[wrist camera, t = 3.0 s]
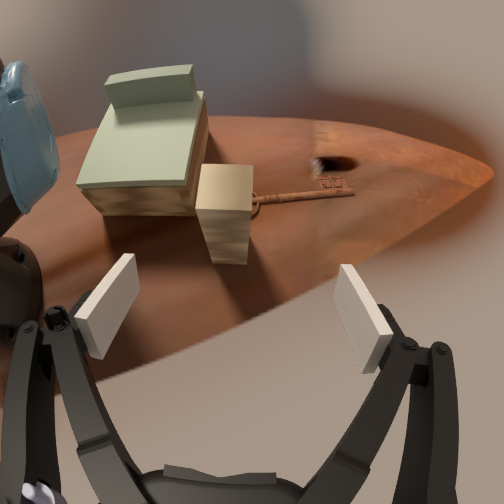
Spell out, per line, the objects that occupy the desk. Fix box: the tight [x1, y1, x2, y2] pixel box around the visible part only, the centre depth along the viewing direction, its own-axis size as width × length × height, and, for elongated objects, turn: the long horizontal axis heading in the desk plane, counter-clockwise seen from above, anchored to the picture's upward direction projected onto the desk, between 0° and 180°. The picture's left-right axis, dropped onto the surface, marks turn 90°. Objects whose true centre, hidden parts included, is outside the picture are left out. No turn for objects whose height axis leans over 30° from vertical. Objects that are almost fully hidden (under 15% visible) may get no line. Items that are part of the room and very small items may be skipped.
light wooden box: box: [80, 98, 209, 216], centre depth 28 cm, size 12×13×6 cm
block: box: [195, 164, 253, 265], centre depth 23 cm, size 4×4×12 cm
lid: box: [76, 64, 204, 189], centre depth 23 cm, size 12×13×5 cm
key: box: [251, 175, 354, 216], centre depth 31 cm, size 6×1×15 cm
